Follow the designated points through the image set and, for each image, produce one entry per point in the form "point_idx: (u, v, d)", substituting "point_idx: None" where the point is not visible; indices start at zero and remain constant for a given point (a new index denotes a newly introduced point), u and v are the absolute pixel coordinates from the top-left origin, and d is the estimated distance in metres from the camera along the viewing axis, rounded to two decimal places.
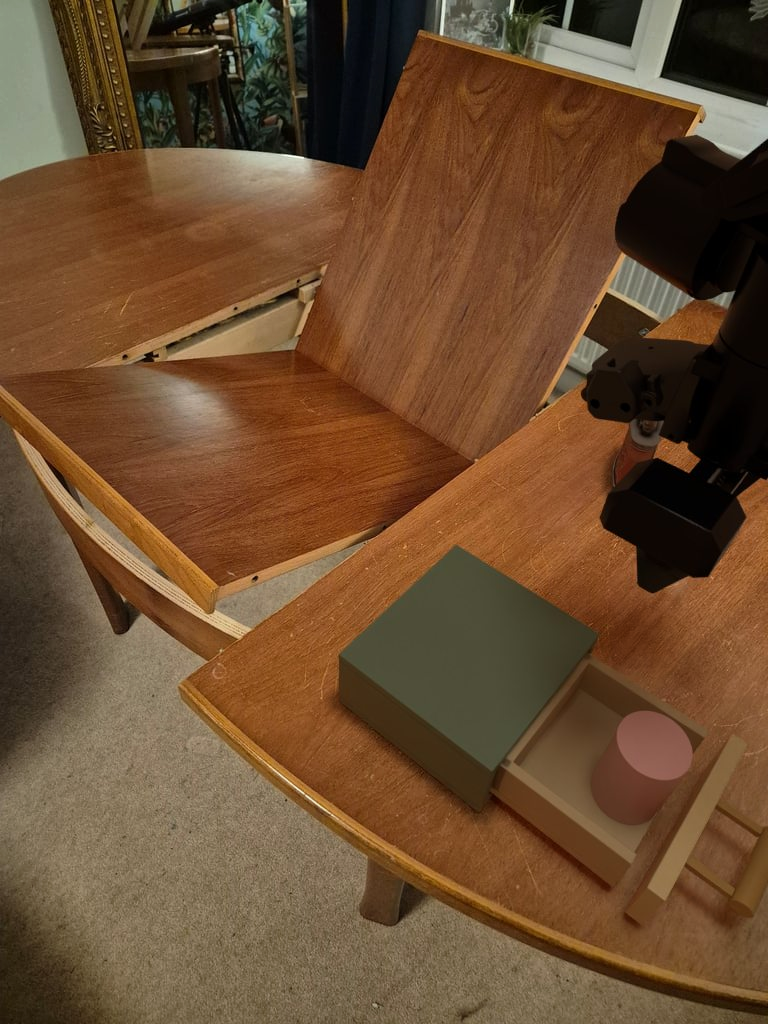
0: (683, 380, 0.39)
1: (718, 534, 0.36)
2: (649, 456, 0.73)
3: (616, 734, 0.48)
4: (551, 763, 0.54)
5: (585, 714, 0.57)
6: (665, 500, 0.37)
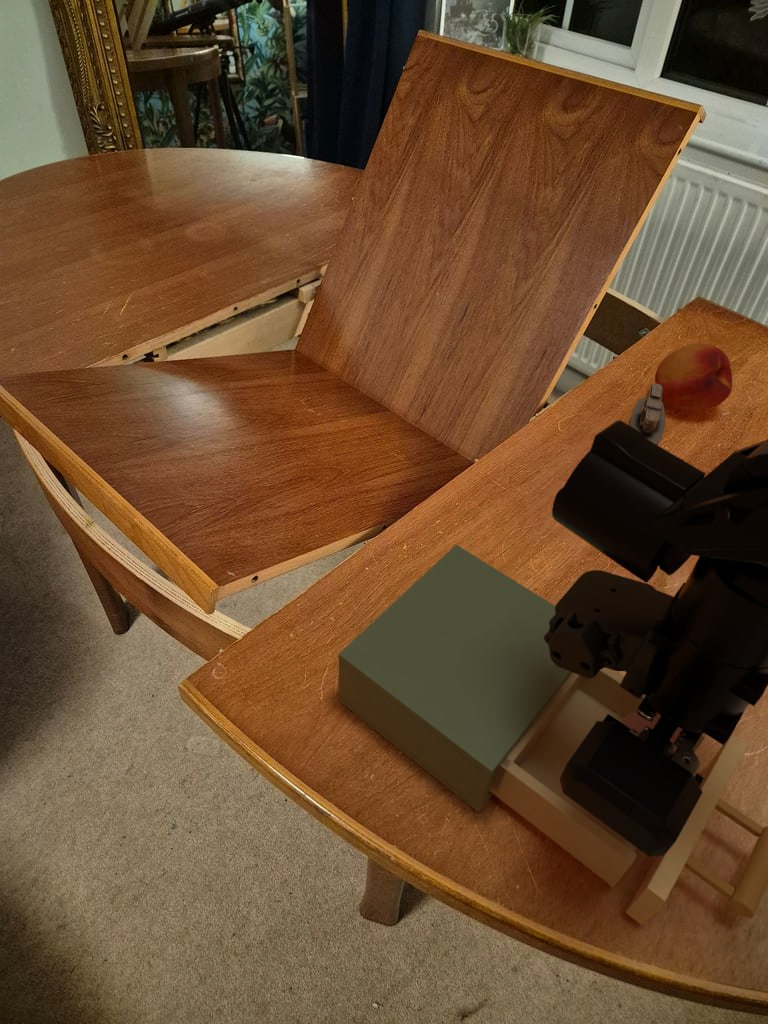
0: (641, 647, 0.40)
1: (672, 822, 0.37)
2: None
3: None
4: (551, 763, 0.54)
5: (585, 714, 0.57)
6: (621, 781, 0.38)
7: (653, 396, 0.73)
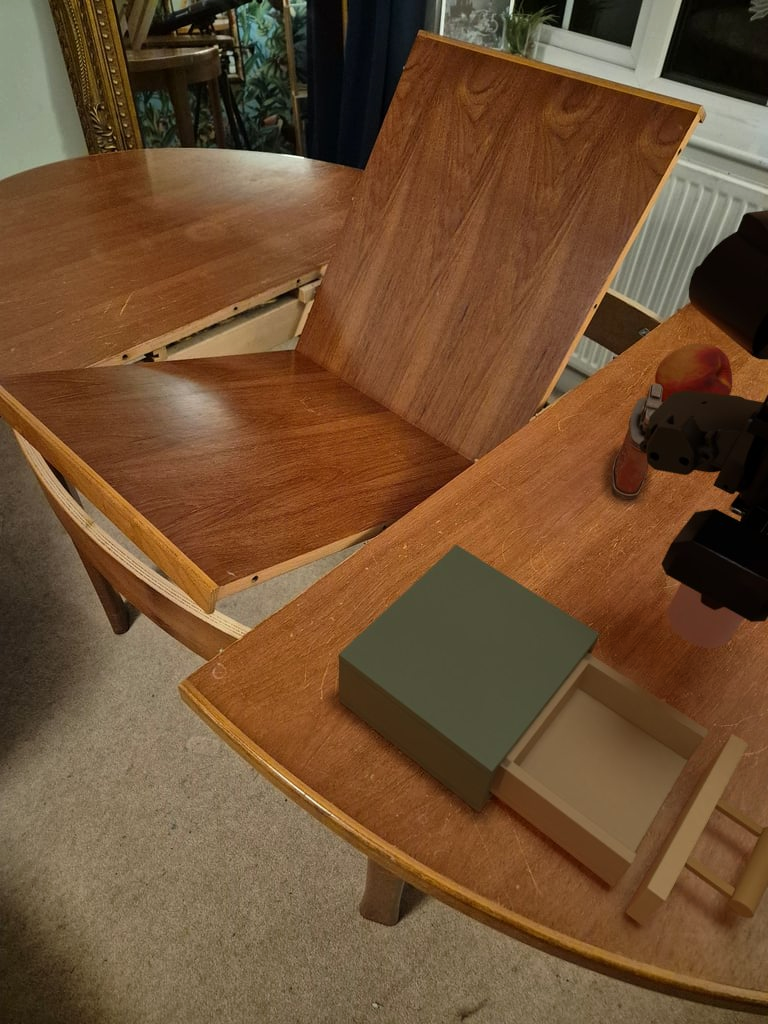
0: (739, 437, 0.43)
1: None
2: None
3: None
4: (551, 763, 0.54)
5: (585, 714, 0.57)
6: (726, 551, 0.41)
7: (653, 396, 0.73)
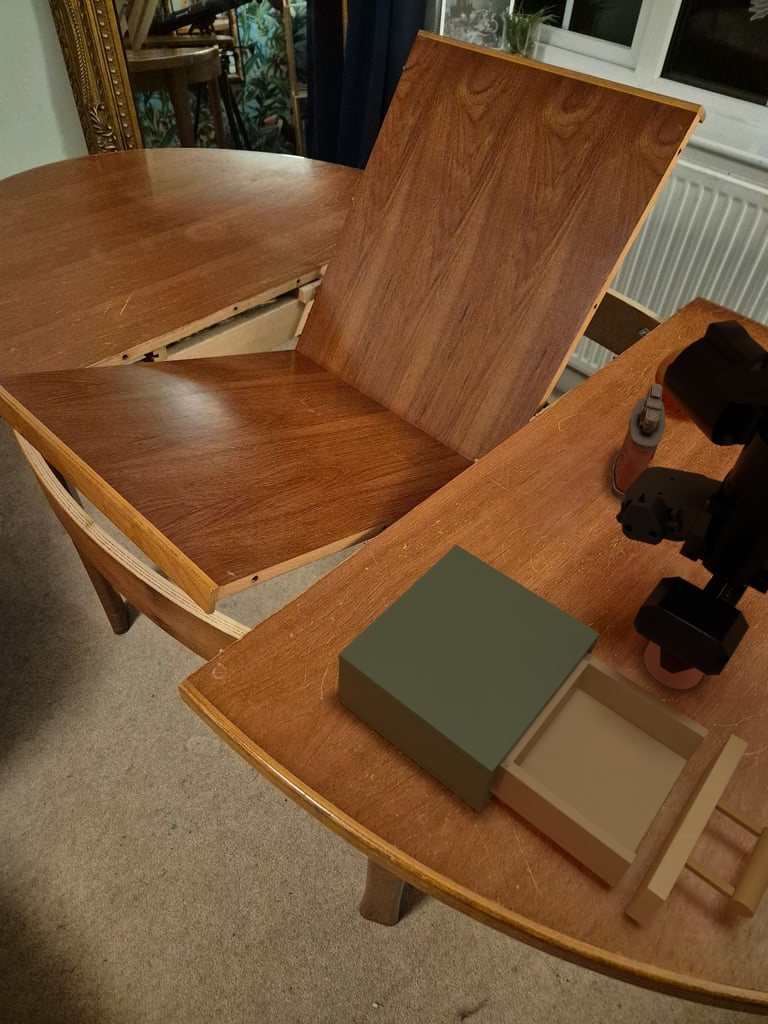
0: (699, 515, 0.50)
1: (727, 644, 0.47)
2: (649, 456, 0.73)
3: None
4: (551, 763, 0.54)
5: (585, 714, 0.57)
6: (686, 615, 0.48)
7: (653, 396, 0.73)
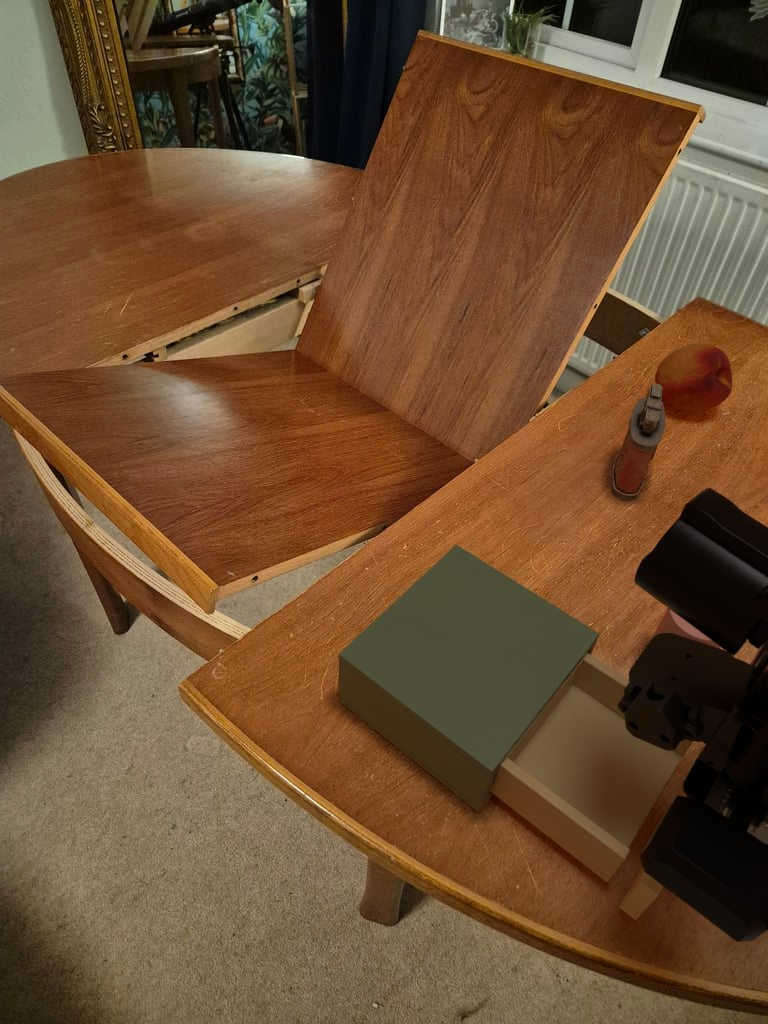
0: (725, 721, 0.39)
1: (764, 909, 0.36)
2: (649, 456, 0.73)
3: None
4: (546, 759, 0.54)
5: (580, 710, 0.57)
6: (709, 864, 0.37)
7: (653, 396, 0.73)
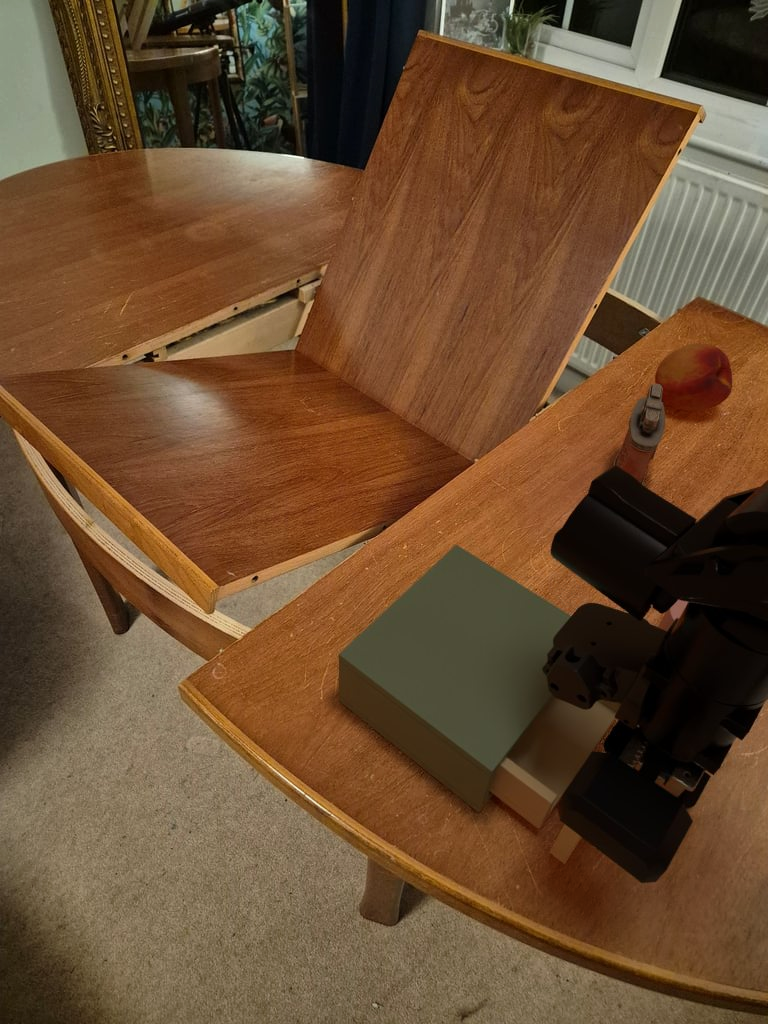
0: (635, 681, 0.42)
1: (664, 851, 0.39)
2: (649, 456, 0.73)
3: None
4: None
5: None
6: (615, 811, 0.40)
7: (653, 396, 0.73)
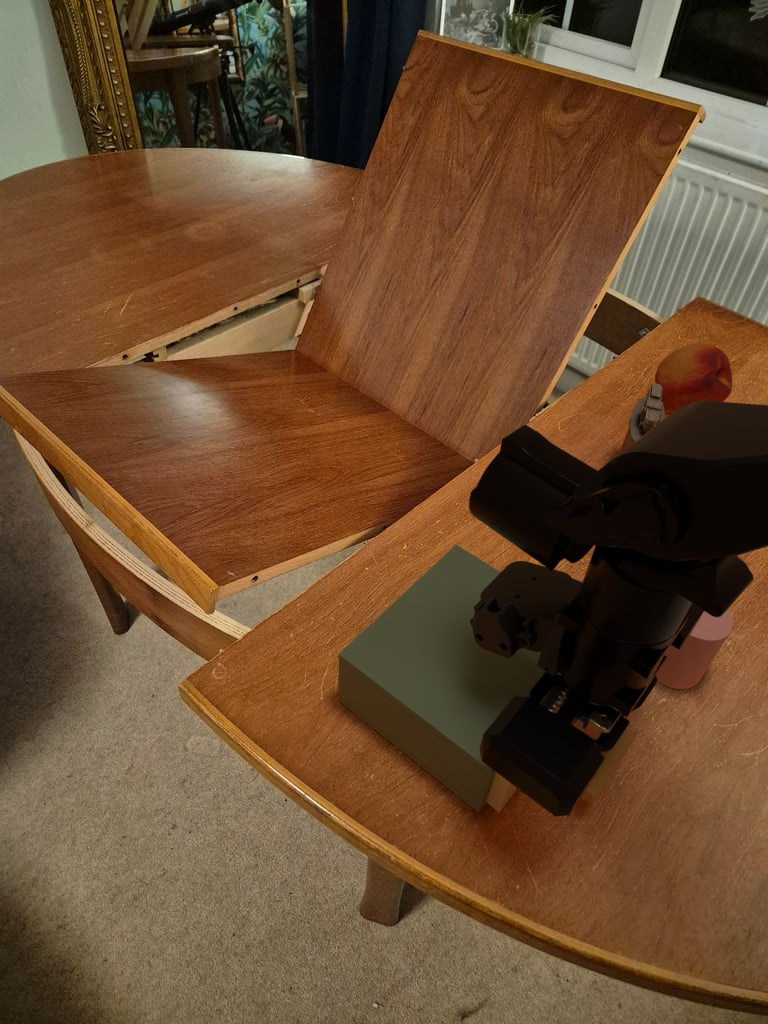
0: (552, 628, 0.44)
1: (573, 784, 0.41)
2: None
3: None
4: None
5: None
6: (529, 748, 0.42)
7: (653, 396, 0.73)
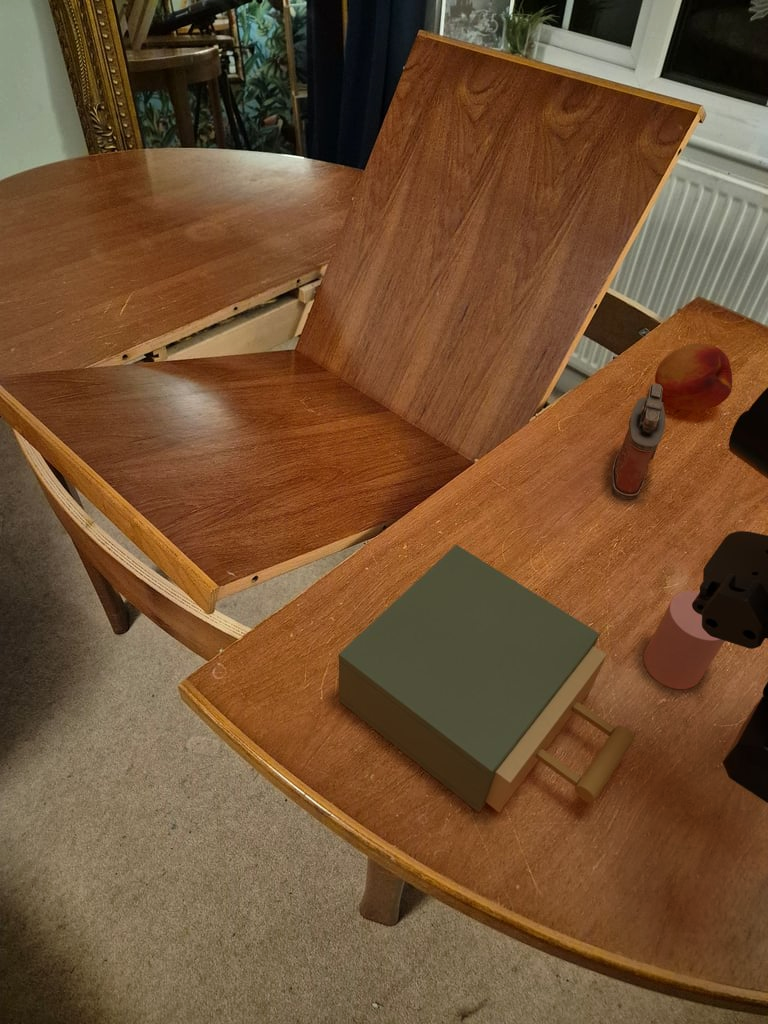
0: None
1: None
2: (649, 456, 0.73)
3: (669, 607, 0.58)
4: None
5: None
6: None
7: (653, 396, 0.73)
